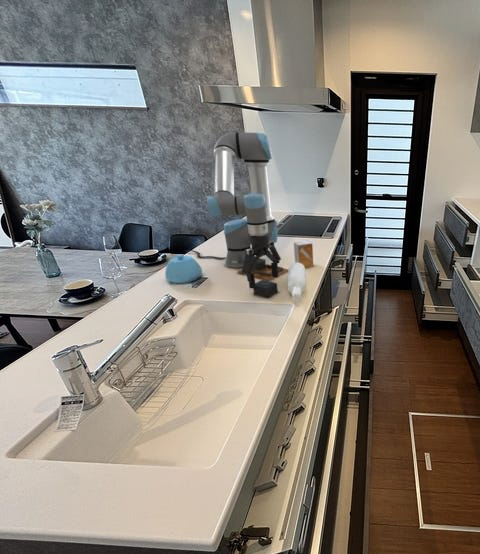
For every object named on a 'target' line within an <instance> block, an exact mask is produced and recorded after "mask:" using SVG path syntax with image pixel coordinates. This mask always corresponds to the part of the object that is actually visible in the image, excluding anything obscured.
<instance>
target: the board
mask: <svg viewBox="0 0 480 554" xmlns="http://www.w3.org/2000/svg"><path fill="white" fill-rule="evenodd" d="M266 261H267V260H266V259H264V258H261V257H260V258H259V259H258V261H257V263H256V266H255V268H254V270H253V274H254V277H255V279H256V278H257V279H260V280H266V281H272V280H273V279H276V277H272V268H271V264H270V263H269V264H268V263H267V262H266ZM243 262H244V261H243ZM249 271H250V270H249ZM287 272H289V268H284V267H283V266H278V277H279V276H281V275H283V274H285V273H287ZM237 274H240V275H243V276H244V275H245V276H247V275H246V274H242V269H240V270H237Z"/></svg>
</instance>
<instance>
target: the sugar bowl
mask: <svg viewBox="0 0 480 554" xmlns="http://www.w3.org/2000/svg"><path fill="white" fill-rule="evenodd" d="M202 274H203V269H202V267H201V265H200V263H199V262H197V260H195V258H193V257H192V256H189V255H184V254H181V253H180V254H177V255H176V256H175V257H172V258H171V259H169V260H168V262H167V265H166V267H165V273H164V276H165V279H166V280H168V281H169V282H171V283H173V284H186V283H190V282H193V281H194V282H195V281H196V280H198V279H199V278H200V277H201V276H202Z"/></svg>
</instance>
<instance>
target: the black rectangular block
mask: <svg viewBox="0 0 480 554" xmlns="http://www.w3.org/2000/svg"><path fill="white" fill-rule="evenodd" d="M255 285H256V289H252V291H253V295H257V296H259V297H263V298H268V299H269V298H271V297H272V296H274V295H276V294H278V292H279V291H278V283H277V282H274V281H271V280H269V281H268V280H264V279H260V280H258V281H257V282H255Z"/></svg>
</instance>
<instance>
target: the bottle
mask: <svg viewBox="0 0 480 554" xmlns="http://www.w3.org/2000/svg"><path fill="white" fill-rule="evenodd" d="M306 273H307V271H306V268H305V267H304V265H303V264H301V263H295V262H293V263H291V264H290V266H289V267H288V275H287V276H288V277H287V289H288V291H289V293H290V294H291V299H292V300H293V301H294V302H296V303H297V302H300V301H301V299H302V298H303V294H304V293H305V292H306V289H307V274H306Z"/></svg>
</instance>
